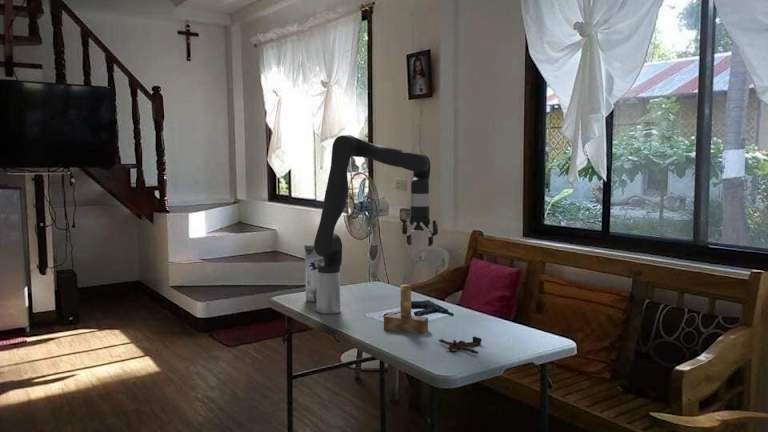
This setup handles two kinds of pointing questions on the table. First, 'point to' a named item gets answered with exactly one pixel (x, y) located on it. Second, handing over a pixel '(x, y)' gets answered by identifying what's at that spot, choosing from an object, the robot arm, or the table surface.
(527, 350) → the table surface
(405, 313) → the oak post
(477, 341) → the brown toy figure
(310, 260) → the juice carton
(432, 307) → the gun
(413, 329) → the walnut rail
